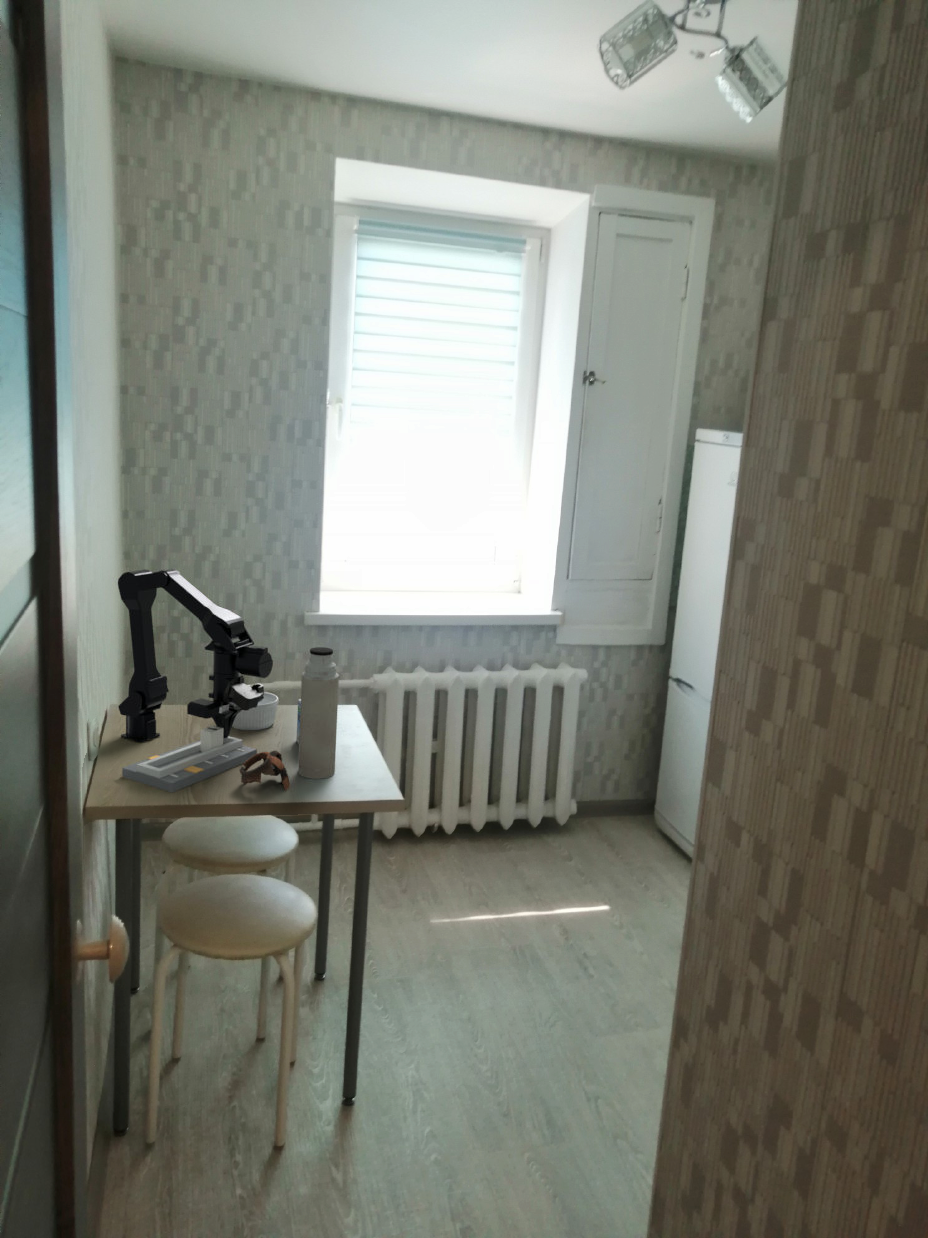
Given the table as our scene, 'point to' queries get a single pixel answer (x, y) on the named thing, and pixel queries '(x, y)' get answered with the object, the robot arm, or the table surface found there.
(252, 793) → the table surface
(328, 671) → the thermos bottle
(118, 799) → the table surface
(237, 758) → the console
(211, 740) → the fader knob
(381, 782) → the table surface
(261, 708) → the ramekin
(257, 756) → the brown curved looped piece
